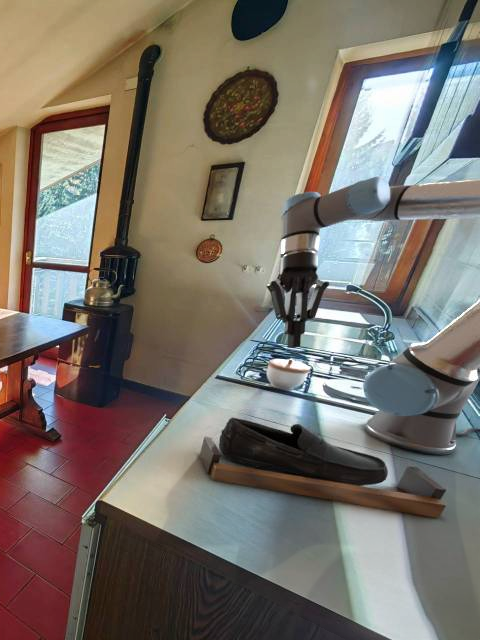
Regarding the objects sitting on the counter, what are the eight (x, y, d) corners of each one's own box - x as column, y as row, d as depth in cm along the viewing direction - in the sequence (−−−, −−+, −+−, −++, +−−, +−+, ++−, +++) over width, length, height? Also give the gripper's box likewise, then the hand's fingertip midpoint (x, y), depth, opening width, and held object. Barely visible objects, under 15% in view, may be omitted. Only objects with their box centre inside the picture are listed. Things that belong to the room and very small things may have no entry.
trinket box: (254, 380, 133) (262, 354, 129) (282, 379, 134) (291, 353, 130) (280, 393, 123) (290, 365, 119) (311, 392, 124) (321, 364, 121)
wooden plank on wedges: (405, 487, 79) (416, 467, 78) (441, 518, 71) (455, 496, 69) (199, 455, 90) (204, 436, 88) (209, 479, 81) (215, 459, 79)
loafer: (391, 499, 76) (415, 455, 72) (222, 468, 85) (235, 427, 81) (362, 470, 85) (382, 429, 81) (212, 444, 94) (223, 407, 90)
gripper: (319, 261, 102) (314, 350, 101) (262, 261, 105) (257, 347, 104) (339, 250, 95) (334, 346, 93) (277, 250, 98) (271, 343, 97)
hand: (293, 346), depth 99 cm, fingers closed
